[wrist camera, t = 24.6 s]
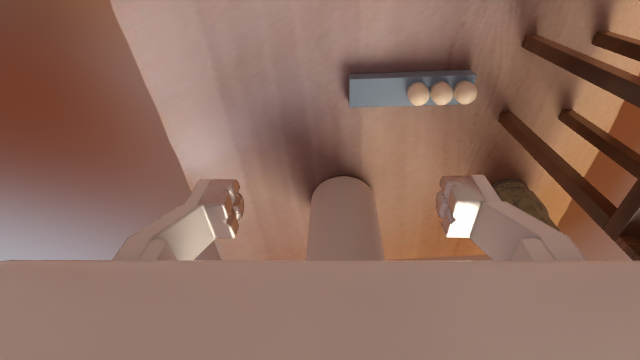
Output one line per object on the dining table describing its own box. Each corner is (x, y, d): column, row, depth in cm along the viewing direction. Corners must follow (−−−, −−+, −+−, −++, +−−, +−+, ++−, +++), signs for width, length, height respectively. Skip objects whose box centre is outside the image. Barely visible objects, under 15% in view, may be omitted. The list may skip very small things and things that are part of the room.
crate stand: (498, 121, 50) (638, 267, 27) (525, 35, 43) (755, 136, 19) (568, 119, 50) (774, 267, 26) (609, 31, 42) (950, 131, 19)
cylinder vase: (336, 230, 67) (337, 350, 47) (298, 194, 61) (281, 313, 41) (386, 204, 62) (411, 326, 42) (350, 163, 56) (359, 280, 36)
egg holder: (348, 101, 49) (350, 115, 45) (348, 73, 47) (350, 86, 42) (463, 97, 48) (476, 112, 44) (470, 69, 46) (484, 81, 41)
